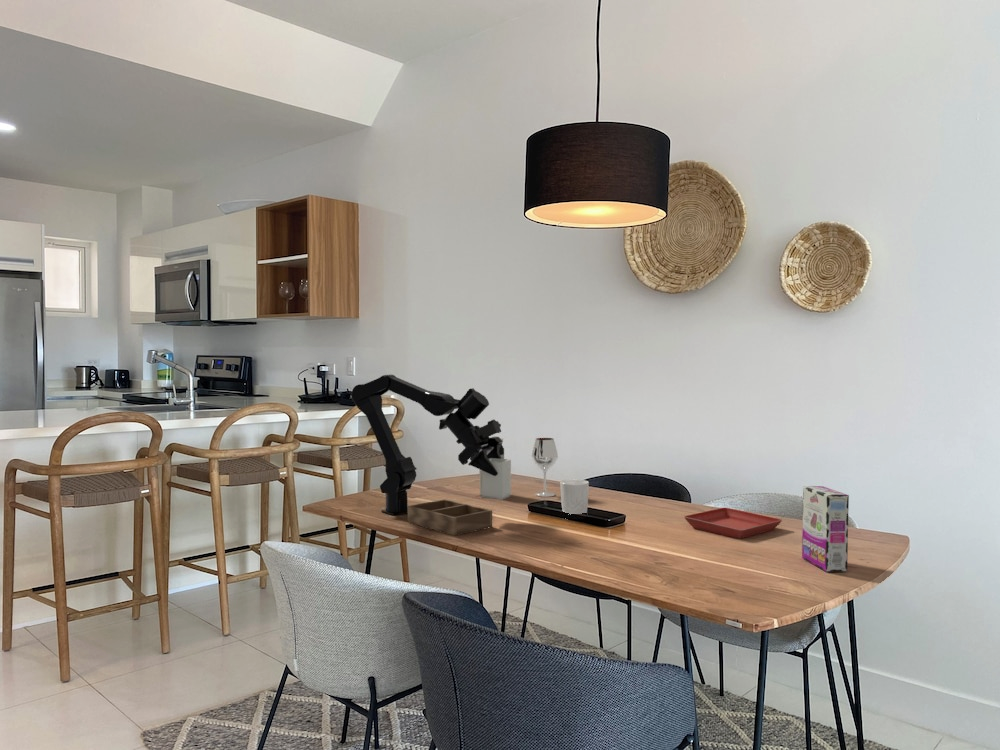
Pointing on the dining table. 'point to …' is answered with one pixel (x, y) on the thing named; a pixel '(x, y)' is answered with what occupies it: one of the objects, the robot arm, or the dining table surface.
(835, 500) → the candy bar box
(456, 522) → the crate
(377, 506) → the dining table surface
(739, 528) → the plant saucer
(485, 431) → the robot arm
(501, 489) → the box
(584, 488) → the white cup
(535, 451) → the wineglass
